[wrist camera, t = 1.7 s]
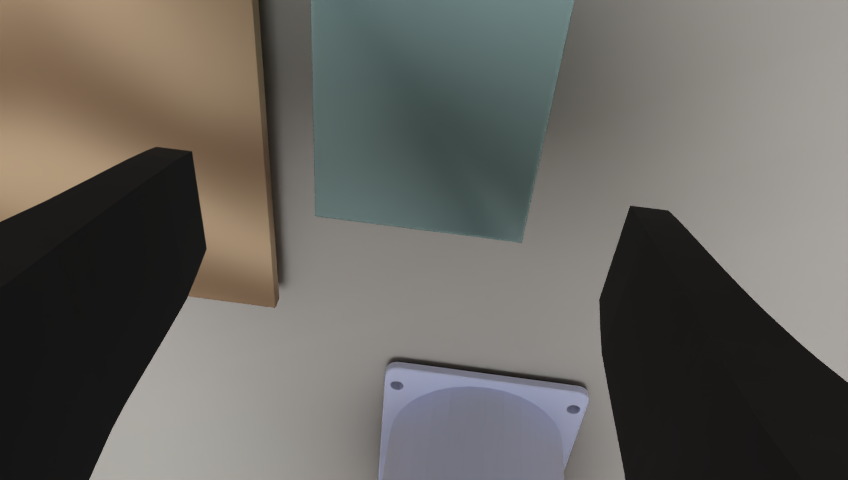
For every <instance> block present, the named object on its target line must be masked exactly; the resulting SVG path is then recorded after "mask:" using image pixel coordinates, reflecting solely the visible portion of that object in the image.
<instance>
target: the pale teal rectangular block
mask: <svg viewBox="0 0 848 480" xmlns="http://www.w3.org/2000/svg"><path fill="white" fill-rule="evenodd" d="M573 4H574V0H311V32H312V80H313V127H314V175H315V216H318V217H326V218H334V219H341V220H349V221H357V222H364V223H372V224H380V225H388V226H395V227H403V228H411V229H419V230H426V231H434V232H442V233H450V234H457V235H465V236H473V237H481V238H488V239H496V240H504V241H512V242H519V243H522V239H523V235H524V230H525V225H526V221H527V216H528V211H529V207H530V202H531V198H532V193H533V188H534V184H535V179H536V175H537V170H538V165H539V161H540V156H541V151H542V147H543V142H544V138H545V133H546V128H547V124H548V119H549V115H550V110H551V105H552V101H553V96H554V92H555V87H556V82H557V78H558V73H559V68H560V64H561V59H562V55H563V50H564V45H565V41H566V36H567V32H568V27H569V22H570V18H571V13H572V8H573Z"/></svg>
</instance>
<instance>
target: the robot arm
mask: <svg viewBox="0 0 848 480" xmlns="http://www.w3.org/2000/svg"><path fill="white" fill-rule="evenodd" d="M206 250H207V247H206V240H205V234H204V227H203V220H202V214H201V207H200V201H199V194H198V187H197V181H196V174H195V168H194V161H193V154H192V151H186V150H178V149H170V148H162V147H154V148H152V149H149V150H146V151H144V152H142V153H140V154H137V155H135V156H133V157H131V158H129V159H127V160H125V161H123V162H121V163H119V164H117V165H115V166H113V167H111V168H109V169H107V170H105V171H103V172H101V173H99V174H97V175H96V176H94V177H92V178H90V179H88V180H86V181H84V182H82V183H80V184H78V185H76V186H74V187H72V188H70V189H68V190H66V191H64V192H62V193H60V194H58V195H56V196H54V197H52V198H50V199H48V200H46V201H44V202H42V203H40V204H38V205H36V206H33V207H31V208H29V209H27V210H25V211H23V212H20V213H18V214H16V215H14V216H12V217H10V218H7V219H5V220H3V221H1V222H0V480H89V479H90V476H91V474H92V472H93V470H94V467H95V465H96V463H97V461H98V459H99V456H100V454H101V452H102V450H103V447H104V445H105V443H106V441H107V439H108V436H109V434H110V432H111V430H112V428H113V426H114V424H115V422H116V420H117V418H118V416H119V415H120V413H121V411H122V409H123V407H124V405H125V403H126V402H127V400H128V398H129V397H130V395H131V393H132V391H133V390H134V388H135V386H136V385H137V383H138V381H139V380H140V378H141V376H142V375H143V373H144V371H145V369H146V368H147V366H148V364H149V363H150V361H151V359H152V358H153V356H154V354H155V353H156V351H157V349H158V347H159V346H160V344H161V342H162V341H163V339H164V337H165V336H166V334H167V332H168V330H169V329H170V327H171V325H172V324H173V322H174V320H175V318H176V317H177V315H178V313H179V311H180V310H181V308H182V306H183V304H184V303H185V301H186V299H187V297H188V295H189V292H190V290H191V288H192V285H193V283H194V280H195V278H196V276H197V273H198V270H199V268H200V265H201V263H202V260H203V257H204V255H205V252H206ZM599 302H600V330H601V346H602V356H603V362H604V368H605V373H606V378H607V384H608V389H609V395H610V400H611V405H612V410H613V416H614V421H615V426H616V431H617V436H618V442H619V447H620V452H621V457H622V463H623V468H624V473H625V480H848V382H846V381H845V380H844V379H843V378H841V377H840V376H839V375H838V374H836V373H835V372H834V371H833V370H831V369H830V368H829V367H828V366H826V365H825V364H824V363H822V362H821V361H820V360H819V359H818V358H816V357H815V356H814V355H813V354H812V353H811V352H809V351H808V350H807V349H806V348H805V347H804V346H802V345H801V344H800V343H799V342H798V341H797V340H796V339H795V338H793V337H792V336H791V335H790V334H789V333H788V332H787V331H786V330H785V329H784V328H783V327H782V326H780V325H779V324H778V323H777V322H776V321H775V320H774V319H773V318H772V317H771V316H770V315H769V314H767V313H766V312H765V311H764V310H763V309H762V308H761V307H760V306H759V305H758V304H757V303H756V302H755V301H754V300H753V299H752V298H751V297H750V296H749V295H748V294H747V293H746V292H745V291H744V290H743V289H742V288H741V287H740V286H739V285H738V284H737V283H736V282H735V280H734V279H733V278H732V277H731V276H730V275H729V274H728V273H727V272H726V271H725V270H724V269H723V268H722V267H721V266H720V265H719V264H718V263H717V261H716V260H715V259H714V258H713V257H712V256H711V255H710V254H709V253H708V252H707V251H706V250H705V248H704V247H703V246H702V245H701V244H700V243H699V242H698V241H697V240H696V239H695V238H694V237H693V235H692V234H691V233H690V232H689V231H688V230H687V229H686V228H685V227H684V226H683V225H682V224H681V223H680V222H679V221H678V220H677V218H676V217H674V216H673V215H672V214H671V213H670V212H669V211H667V210H659V209H651V208H643V207H635V206H630V208H629V211H628V214H627V217H626V220H625V223H624V226H623V229H622V232H621V236H620V239H619V242H618V245H617V248H616V251H615V254H614V257H613V260H612V263H611V266H610V269H609V272H608V275H607V278H606V281H605V284H604V287H603V290H602V293H601V296H600V299H599ZM395 381H398V382H395ZM588 403H589V394H588V391H587V390H586V389H585V388H583V387H580V386H576V385H568V384H561V383H553V382H546V381H538V380H531V379H523V378H516V377H509V376H501V375H494V374H486V373H479V372H471V371H464V370H456V369H449V368H441V367H434V366H427V365H419V364H412V363H404V362H393V363H390V364H389V365H388V366H387V368H386V373H385V384H384V399H383V413H382V428H381V443H380V458H379V472H378V480H565V478H564V470H565V467H566V464H567V462H568V459H569V456H570V453H571V450H572V448H573V445H574V442H575V439H576V437H577V434H578V431H579V428H580V425H581V423H582V420H583V417H584V414H585V412H586V409H587V406H588ZM571 405H575V406H571Z"/></svg>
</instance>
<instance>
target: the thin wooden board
mask: <svg viewBox="0 0 848 480" xmlns="http://www.w3.org/2000/svg"><path fill="white" fill-rule="evenodd" d="M154 147H162V148H170V149H178V150H186V151H192V154H193V161H194V168H195V174H196V181H197V187H198V194H199V201H200V207H201V214H202V220H203V227H204V234H205V240H206V247H207V250H206V252H205V255H204V257H203V260H202V263H201V265H200V268H199V270H198V273H197V276H196V278H195V280H194V283H193V285H192V288H191V290H190V292H189V295H188V296H191V297H198V298H206V299H213V300H221V301H229V302H236V303H244V304H251V305H259V306H266V307H274V308H275V307H276V305H277V302H278V300H279V289H278V275H277V260H276V246H275V232H274V217H273V203H272V189H271V175H270V160H269V146H268V132H267V117H266V103H265V89H264V74H263V60H262V46H261V32H260V17H259V3H258V0H0V222H1V221H3V220H5V219H7V218H10V217H12V216H14V215H16V214H18V213H20V212H23V211H25V210H27V209H29V208H31V207H33V206H36V205H38V204H40V203H42V202H44V201H46V200H48V199H50V198H52V197H54V196H56V195H58V194H60V193H62V192H64V191H66V190H68V189H70V188H72V187H74V186H76V185H78V184H80V183H82V182H84V181H86V180H88V179H90V178H92V177H94V176H96V175H97V174H99V173H101V172H103V171H105V170H107V169H109V168H111V167H113V166H115V165H117V164H119V163H121V162H123V161H125V160H127V159H129V158H131V157H133V156H135V155H137V154H140V153H142V152H144V151H146V150H149V149H152V148H154Z"/></svg>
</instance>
